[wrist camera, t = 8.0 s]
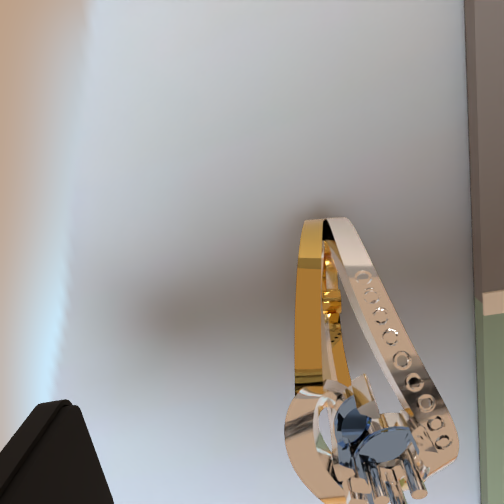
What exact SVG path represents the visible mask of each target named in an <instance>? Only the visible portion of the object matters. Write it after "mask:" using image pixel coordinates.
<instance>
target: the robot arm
mask: <svg viewBox="0 0 504 504" xmlns="http://www.w3.org/2000/svg"><path fill="white" fill-rule="evenodd" d="M0 504H114V502H113V498H112V495H111V493H110V490H109V487H108V484H107V482H106V479H105V476H104V473H103V470H102V468H101V465H100V462H99V459H98V457H97V454H96V451H95V448H94V446H93V443H92V440H91V437H90V435H89V432H88V429H87V426H86V424H85V421H84V418H83V415H82V412H81V410H80V408H79V407H78V406H77V405H72V403H71V402H70V401H69V400H66V399H65V400H59V401H52V402H46V403H41V404H38V405H37V406H36V407H35V408H34V409H33V411H32V412H31V413H30V415H29V416H28V417H27V419H26V420H25V421H24V422H23V424H22V425H21V426H20V428H19V429H18V430H17V431H16V433H15V434H14V436H13V437H12V438H11V439H10V441H9V442H8V443H7V445H6V446H5V447H4V448H3V450H2V451H1V452H0Z"/></svg>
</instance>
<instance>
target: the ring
mask: <svg viewBox="0 0 504 504" xmlns="http://www.w3.org/2000/svg"><path fill="white" fill-rule="evenodd" d="M337 271H338V274H339V276H340V279H341V282H342V284H343V287H344V290H345V292H346V295H347V297H348V300H349V302H350V304H351V307H352V309H353V311H354V314H355V316H356V318H357V320H358V323H359V325H360V327H361V329H362V331H363V333H364V336H365V338H366V340H367V342H368V344H369V346H370V348H371V350H372V352H373V354H374V356H375V358H376V360H377V361H378V363H379V365H380V367H381V369H382V371H383V373H384V375H385V376H386V378H387V380H388V382H389V384H390V385H391V387H392V389H393V391H394V393H395V394H396V396H397V398H398V400H399V401H400V403H401V405H402V407H403V409H404V410H400V413H384V414H380V413H379V409H378V406H377V403H376V400H375V397H374V394H373V391H372V388H371V385H370V381H369V379H368V376H367V375H366V374H363V375H360V376H358V377H357V378H355V379H353V380H352V381H351V378H350V375H349V371H348V367H347V362H346V357H345V352H344V347H343V341H342V334H341V326H340V316H339V313H341V293H340V290H338V274H337ZM324 408H327V411H328V418H329V424H330V431H331V445H332V453H331V451H330V450H329V448H328V447H327V445H326V444H325V442H324V440H323V438H322V436H321V433H320V429H319V415H320V412H321V411H322V410H323V409H324ZM284 435H285V444H286V449H287V453H288V456H289V459H290V462H291V464H292V466H293V468H294V470H295V471H296V473H297V475H298V476H299V478H300V479H301V480H302V482H303V483H304V484H305V485H306V486H307V488H308V489H309V490H310V491H311V492H312V493H313V494H314V495H315V496H316V497H318V498H319V499H320V500H321V501H322V502H323V503H325V504H387V503H389V501H391V504H407V502H406V499H405V496H404V493H403V491H406V490H410V493H411V496H412V498H414V499H422V498H424V497H426V496H427V494H428V493H427V490H426V488H425V485H424V482H425V480H426V479H427V478H429V477H431V476H432V475H434V474H436V473H437V472H439V471H441V470H442V469H444V468H446V467H447V466H449V465H450V464H452V463H453V462H454V461H455V459H456V458H457V455H458V451H459V440H458V435H457V431H456V428H455V425H454V423H453V420H452V418H451V416H450V413H449V411H448V409H447V407H446V405H445V404H444V402H443V400H442V398H441V396H440V394H439V392H438V391H437V389H436V387H435V385H434V383H433V382H432V380H431V378H430V376H429V374H428V372H427V371H426V369H425V367H424V365H423V363H422V362H421V360H420V358H419V356H418V354H417V352H416V350H415V348H414V346H413V345H412V343H411V341H410V339H409V337H408V335H407V333H406V331H405V329H404V327H403V325H402V323H401V321H400V319H399V317H398V315H397V313H396V311H395V309H394V307H393V305H392V303H391V301H390V299H389V297H388V294H387V292H386V290H385V288H384V286H383V284H382V282H381V280H380V278H379V276H378V274H377V272H376V270H375V268H374V266H373V264H372V262H371V260H370V258H369V255H368V253H367V251H366V249H365V247H364V245H363V243H362V241H361V239H360V237H359V235H358V233H357V231H356V229H355V228H354V226H353V224H352V223H351V221H350V220H349V219H348V218H346V217H336V218H324V220H323V219H312V220H305V222H304V224H303V228H302V233H301V239H300V247H299V256H298V267H297V281H296V301H295V397H294V399H293V400H292V402H291V404H290V406H289V409H288V411H287V415H286V419H285V428H284ZM388 495H389V496H388ZM389 498H390V499H389Z"/></svg>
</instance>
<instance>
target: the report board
mask: <svg viewBox="0 0 504 504" xmlns="http://www.w3.org/2000/svg"><path fill="white" fill-rule="evenodd" d="M465 30H466V60H467V90H468V120H469V150H470V180H471V210H472V240H473V270H474V300H475V330H476V359H477V389H478V419H479V449H480V479H481V504H504V0H465Z"/></svg>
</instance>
